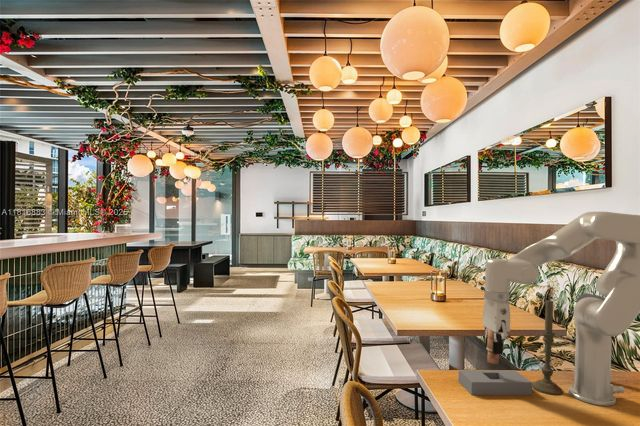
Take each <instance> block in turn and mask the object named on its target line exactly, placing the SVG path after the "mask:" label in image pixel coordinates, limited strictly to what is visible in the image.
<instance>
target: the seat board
mask: <svg viewBox="0 0 640 426" xmlns="http://www.w3.org/2000/svg"><path fill="white" fill-rule="evenodd" d="M457 382H458V383H459V384H460V385H461V386H462V387H463V388H464V389H465V390H466V391H467V392H468V393H469V394H470V395H471V396H473V395H474V396H477V395H478V396H483V395H485V396H486V395H487V396H489V395H490V396H494V395H495V396H496V395H497V396H503V395H504V396H514V395H516V396H520V395H521V396H532V395H533V387H532V383H533V381H531V380H530V379H528V378H527V377H525V376H524V375H522V374H521V373H520V372H518V371H517V370H515V369H514V370H513V369H458V381H457Z"/></svg>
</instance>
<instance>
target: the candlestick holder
mask: <svg viewBox="0 0 640 426" xmlns="http://www.w3.org/2000/svg"><path fill="white" fill-rule="evenodd" d="M544 316H545V317H544V319H545V320H544V331H542V332H541V335H542V336H543V337H542V341H543V342H544V343H545V345H544V350H543V351H544V353H545V354H544V355H545V356H544V362H545V363H544V366H543V367H541V373H542V374H543V378H542V379H538V380H536V381H532V389H534V390H535V391H537V392H539V393H543V394H547V395H552V396H553V395H554V396H556V395H557V396H558V395H562V393H563V389H562V388H561V386H559V385H558V384H557V383H556V382H554V381H553V380H552V379H551V377H552V376H553V374H554V370H553V368H552V367H551V354H552V345H551V344H553V343H554V342H555V340H554V337H555V336H556V334H555V333H554V332H553V319H554V318H553V317H554V301H553V300H551V299H549V300H545V314H544Z"/></svg>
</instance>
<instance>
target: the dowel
mask: <svg viewBox="0 0 640 426" xmlns="http://www.w3.org/2000/svg"><path fill="white" fill-rule="evenodd" d="M498 331H499V332H501V330H498ZM499 335H500V334H497V337H498V336H499ZM493 341H494V332H493V331H492V330H490V329H489V328H488V339H487V349H486V350H487V359H486V361H487V363H489V364H492V365H498V364H499V359H500V354H493V353H492V350H493Z"/></svg>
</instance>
